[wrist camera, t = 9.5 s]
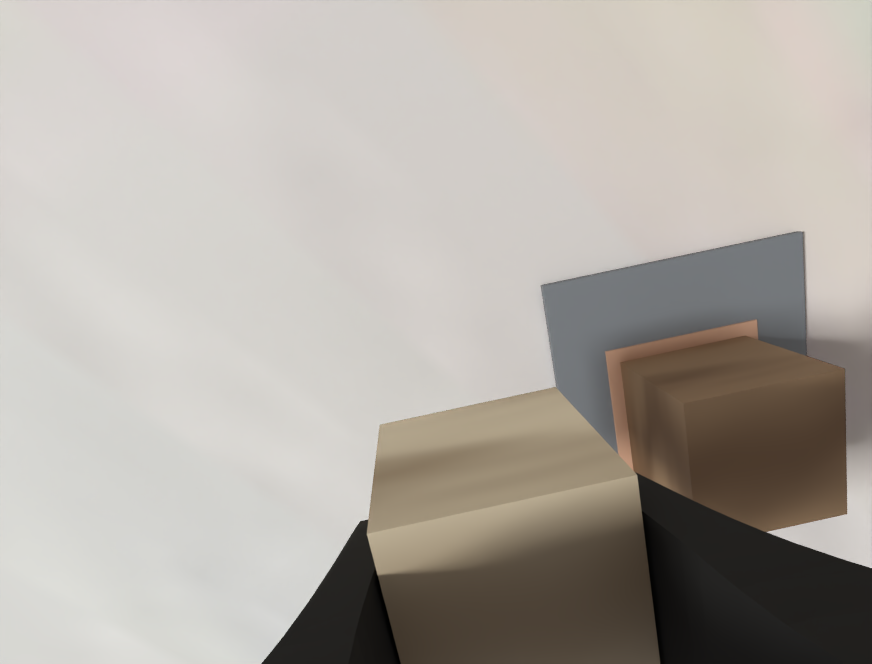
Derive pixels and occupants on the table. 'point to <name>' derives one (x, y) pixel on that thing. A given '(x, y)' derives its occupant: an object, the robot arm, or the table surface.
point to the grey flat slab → (669, 318)
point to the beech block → (510, 538)
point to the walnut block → (741, 430)
